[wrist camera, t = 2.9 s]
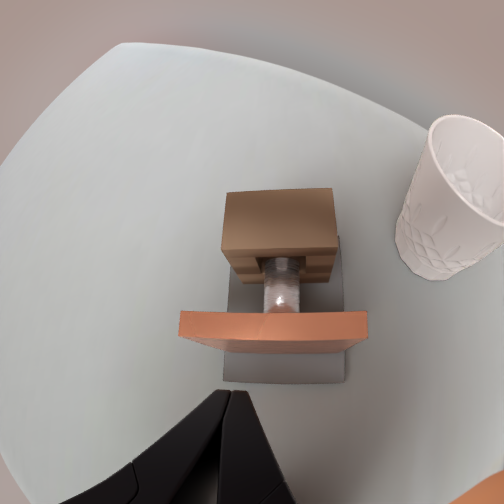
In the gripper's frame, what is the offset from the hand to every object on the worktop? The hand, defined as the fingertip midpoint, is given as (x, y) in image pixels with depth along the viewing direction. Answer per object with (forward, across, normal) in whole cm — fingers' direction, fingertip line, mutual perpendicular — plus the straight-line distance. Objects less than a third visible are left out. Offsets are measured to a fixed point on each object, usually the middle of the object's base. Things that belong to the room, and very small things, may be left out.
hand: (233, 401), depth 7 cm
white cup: (+15, -14, -1) cm, 20 cm away
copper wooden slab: (+11, -2, +3) cm, 12 cm away
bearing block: (+13, -2, +3) cm, 13 cm away
